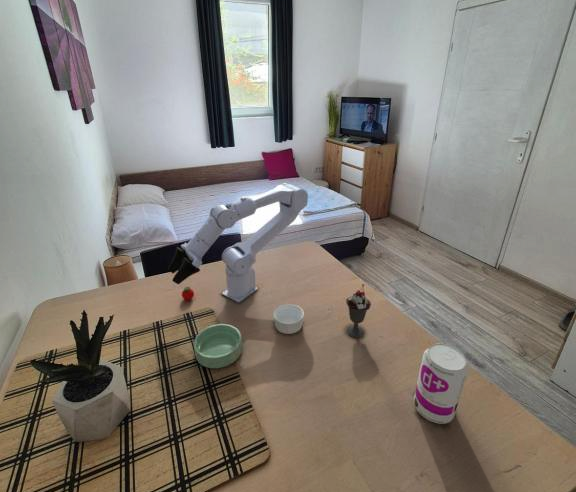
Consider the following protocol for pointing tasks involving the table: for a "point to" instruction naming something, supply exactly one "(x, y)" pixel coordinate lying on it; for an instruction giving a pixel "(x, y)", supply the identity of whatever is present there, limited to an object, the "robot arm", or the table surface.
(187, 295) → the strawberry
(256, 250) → the robot arm
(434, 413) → the supplement can
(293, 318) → the ramekin
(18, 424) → the table surface
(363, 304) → the sundae
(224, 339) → the bowl
